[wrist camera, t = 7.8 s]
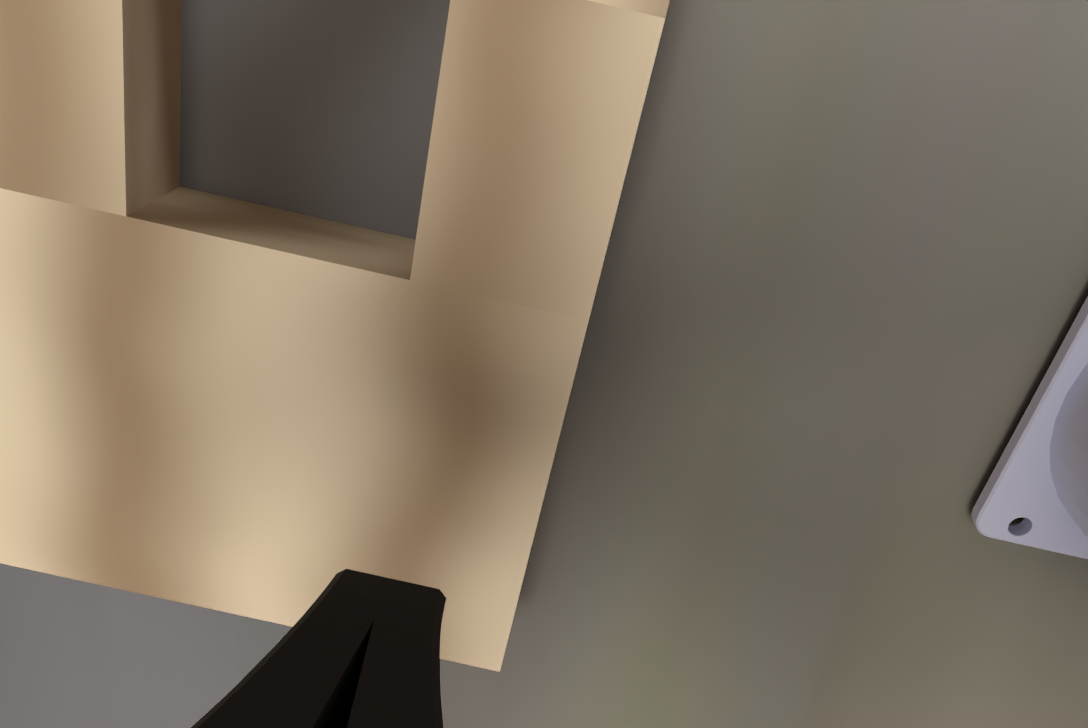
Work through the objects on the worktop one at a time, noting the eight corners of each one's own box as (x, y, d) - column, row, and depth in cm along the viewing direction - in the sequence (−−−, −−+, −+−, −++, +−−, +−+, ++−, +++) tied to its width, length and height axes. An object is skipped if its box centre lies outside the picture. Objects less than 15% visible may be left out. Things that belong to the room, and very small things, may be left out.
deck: (673, -51, 16) (691, -47, 12) (511, 600, 23) (488, 740, 19) (-579, -342, 15) (-1007, -442, 11) (-343, 413, 22) (-552, 516, 18)
